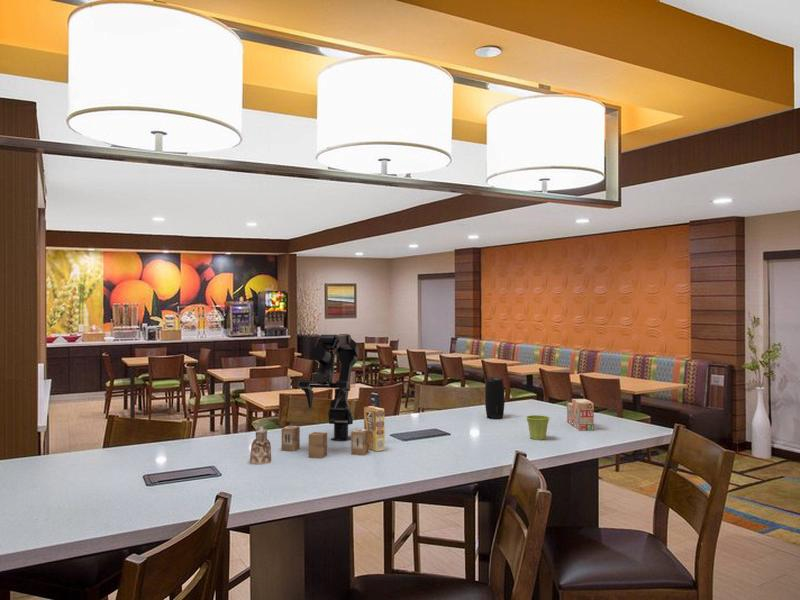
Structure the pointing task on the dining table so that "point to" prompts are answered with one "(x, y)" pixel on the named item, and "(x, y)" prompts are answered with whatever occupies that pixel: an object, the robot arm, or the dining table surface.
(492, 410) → the portable speaker
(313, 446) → the plain block
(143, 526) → the dining table surface
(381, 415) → the candy box
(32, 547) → the dining table surface
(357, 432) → the tile block
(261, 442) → the figurine
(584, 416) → the patterned cardboard box
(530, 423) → the plant pot
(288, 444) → the tile block
